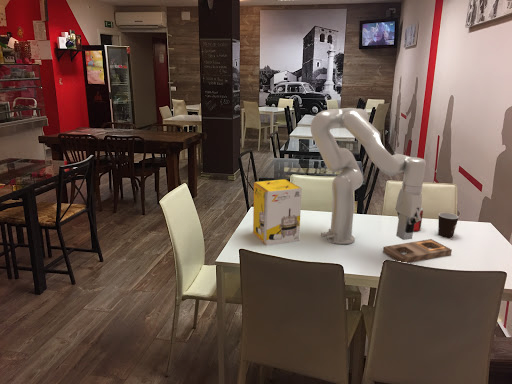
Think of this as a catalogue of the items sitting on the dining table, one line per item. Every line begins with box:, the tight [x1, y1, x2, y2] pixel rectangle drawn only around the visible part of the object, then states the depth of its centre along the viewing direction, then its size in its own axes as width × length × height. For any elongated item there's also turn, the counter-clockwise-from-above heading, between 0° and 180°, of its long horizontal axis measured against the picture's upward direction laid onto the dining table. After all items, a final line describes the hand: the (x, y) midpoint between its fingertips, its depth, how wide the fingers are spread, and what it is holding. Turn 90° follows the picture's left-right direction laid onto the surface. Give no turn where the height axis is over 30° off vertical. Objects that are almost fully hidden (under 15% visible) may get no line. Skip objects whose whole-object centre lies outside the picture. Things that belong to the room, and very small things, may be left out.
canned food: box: [413, 206, 424, 232], centre depth 205 cm, size 8×8×11 cm
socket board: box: [382, 238, 453, 264], centre depth 178 cm, size 26×12×3 cm, turn 111°
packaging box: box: [252, 178, 303, 246], centre depth 191 cm, size 16×16×25 cm
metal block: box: [395, 214, 414, 241], centre depth 173 cm, size 4×4×10 cm
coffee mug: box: [437, 212, 459, 239], centre depth 198 cm, size 12×9×10 cm
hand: (405, 229), depth 173 cm, fingers closed on metal block, 4 cm apart
